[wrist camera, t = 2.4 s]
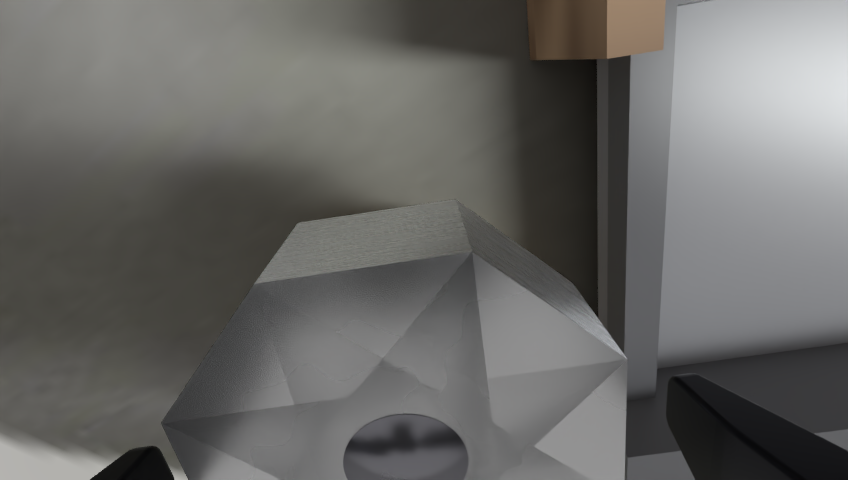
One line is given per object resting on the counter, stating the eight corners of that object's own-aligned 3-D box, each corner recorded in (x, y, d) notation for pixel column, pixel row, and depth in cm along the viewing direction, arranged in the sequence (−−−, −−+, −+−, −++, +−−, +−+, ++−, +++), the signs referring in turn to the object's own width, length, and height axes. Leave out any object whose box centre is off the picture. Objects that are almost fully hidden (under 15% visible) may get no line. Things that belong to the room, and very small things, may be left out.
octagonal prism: (577, 466, 11) (622, 577, 8) (289, 504, 11) (255, 621, 9) (569, 181, 8) (631, 229, 6) (189, 238, 8) (103, 306, 6)
